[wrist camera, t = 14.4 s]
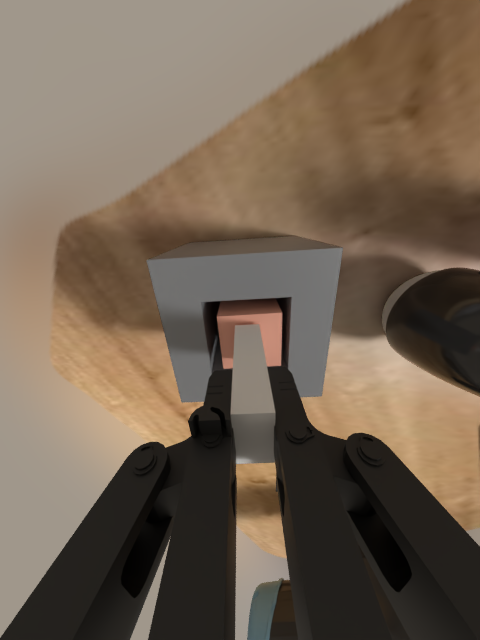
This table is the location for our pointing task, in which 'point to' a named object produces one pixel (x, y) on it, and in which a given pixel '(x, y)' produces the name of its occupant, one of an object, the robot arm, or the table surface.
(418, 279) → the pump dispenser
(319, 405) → the table surface
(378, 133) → the table surface
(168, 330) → the socket block
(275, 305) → the peg
